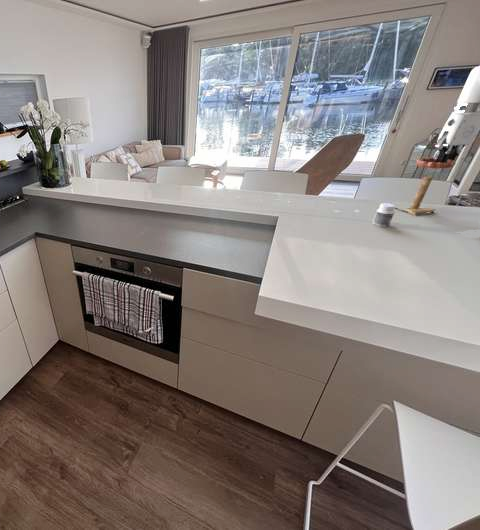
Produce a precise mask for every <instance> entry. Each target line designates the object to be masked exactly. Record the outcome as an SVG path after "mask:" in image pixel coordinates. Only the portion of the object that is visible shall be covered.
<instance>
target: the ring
mask: <svg viewBox="0 0 480 530" xmlns="http://www.w3.org/2000/svg"><path fill="white" fill-rule="evenodd" d="M436 159H437V157H421V158H418V159H416V160H415V161H414V165H415V166H417V167H420V168H424V169H438V170H439V169H450V168H454V166H455V165H456V164H457V163H456V160H454V161H453V160H451V159H448V160H447V162H446V163H435V161H436Z"/></svg>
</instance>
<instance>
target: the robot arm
mask: <svg viewBox="0 0 480 530" xmlns="http://www.w3.org/2000/svg"><path fill="white" fill-rule="evenodd" d="M455 103H456V104H455V106H454V108H453V110H452V112H451V114H450V116H449V117H448V118H447V120H446V122H445V123H444V125H443V127H442V129H441V131H440V133H439V136H438V138H437V141H436V144H435V146H434V148H436V149H437V150H438V155H437V157H436V158H437V159H436V161H435V163H446V162H447V160H448V159H451V160H453V161H456V158H457V156H458V154H460V152H461V151H462V149H464V148H465V147H466V146H468V145H470V144H472V143H474V142H475V140H476V139H477V136H478V135H479V132H480V65H477V66H475V67H474V68H472V69H471V71H470V73H469V74H468V77H467V79H466V81H465V83H464V85H463V88H462V90H461V92H460V95H459V97H458V99H457V101H456V102H455Z"/></svg>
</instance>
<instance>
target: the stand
mask: <svg viewBox="0 0 480 530" xmlns="http://www.w3.org/2000/svg"><path fill="white" fill-rule="evenodd" d="M432 181H433V176H423V178H422V180H421V182H420V185H419V187H418V190H417V192H416V194H415V196H414V199H413V200H412V202H411V203H412V205H411V207H410V208H407V209H406V210H407V211H409V212H410V213H411V214H410V215H412V214H413V215H412V216H419V215H418V214H420V215H423V214H422V213H427V212H432V211H435V212H436V209H435V208H432V207H428V208H419V207H420V205H421V204H422V202H423V200H424V198H425V196H426V193H427V191H428V189H429V187H430V185H431V183H432ZM427 214H428V213H427Z"/></svg>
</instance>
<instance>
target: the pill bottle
mask: <svg viewBox="0 0 480 530" xmlns="http://www.w3.org/2000/svg"><path fill="white" fill-rule="evenodd" d="M395 206H396V205H395V204H393V203H389V202H383V203H380V205H379V208H378V209H376V212H375V215H374V218H373V220H372V224H371V225H373V226H376V227H378V228H379V227H380V228H388V227H390V225H391V222H392V219H393V217H394V216H395V210H396V209H395Z"/></svg>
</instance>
